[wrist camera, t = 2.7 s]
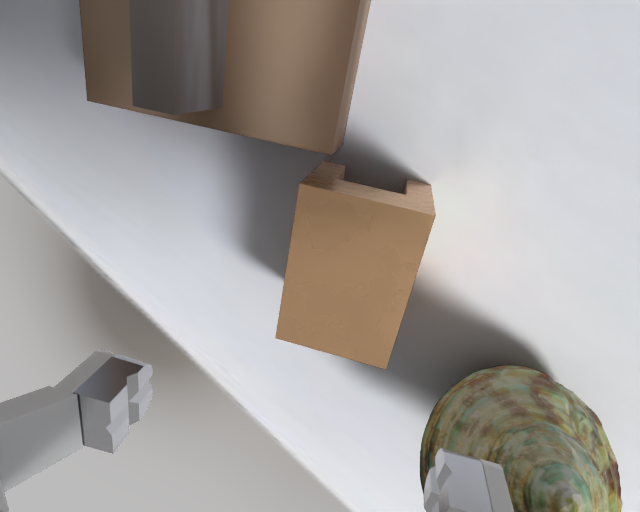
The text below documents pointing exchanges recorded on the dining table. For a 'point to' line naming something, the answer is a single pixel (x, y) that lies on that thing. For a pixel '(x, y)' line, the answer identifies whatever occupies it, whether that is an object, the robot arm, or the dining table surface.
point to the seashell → (527, 440)
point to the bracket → (229, 64)
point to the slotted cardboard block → (352, 264)
